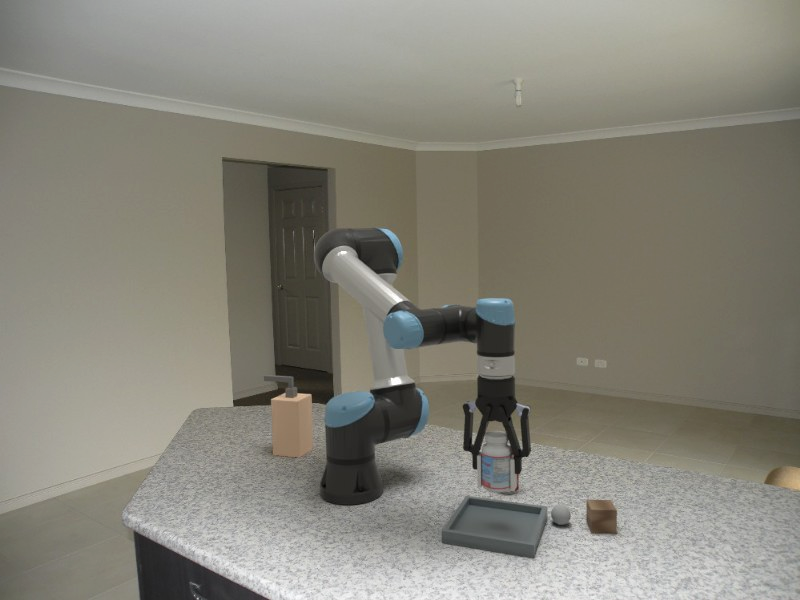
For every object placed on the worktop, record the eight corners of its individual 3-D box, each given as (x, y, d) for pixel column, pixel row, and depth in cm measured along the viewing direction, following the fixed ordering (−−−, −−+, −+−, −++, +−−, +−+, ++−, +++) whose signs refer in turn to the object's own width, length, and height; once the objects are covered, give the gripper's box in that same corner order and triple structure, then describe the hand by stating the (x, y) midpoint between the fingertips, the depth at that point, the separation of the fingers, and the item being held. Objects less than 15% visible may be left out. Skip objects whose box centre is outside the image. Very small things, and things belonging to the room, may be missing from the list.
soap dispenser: (313, 448, 180) (311, 374, 178) (299, 458, 172) (296, 380, 170) (275, 444, 184) (272, 372, 182) (259, 453, 176) (256, 378, 174)
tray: (441, 542, 121) (441, 530, 121) (465, 506, 138) (465, 495, 137) (534, 558, 114) (534, 545, 114) (547, 517, 131) (547, 506, 131)
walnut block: (591, 533, 124) (591, 509, 124) (586, 522, 129) (586, 499, 129) (616, 534, 123) (616, 510, 123) (610, 523, 128) (611, 500, 128)
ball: (549, 526, 127) (549, 508, 127) (552, 518, 131) (552, 500, 130) (569, 529, 126) (569, 510, 125) (571, 521, 129) (571, 503, 129)
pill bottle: (479, 482, 128) (478, 430, 127) (508, 481, 128) (507, 428, 128) (485, 494, 122) (485, 439, 121) (515, 492, 122) (515, 437, 122)
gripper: (445, 376, 123) (447, 487, 125) (541, 381, 116) (541, 499, 118) (455, 369, 130) (457, 475, 132) (546, 374, 123) (547, 485, 125)
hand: (497, 486), depth 125 cm, fingers closed on pill bottle, 6 cm apart
